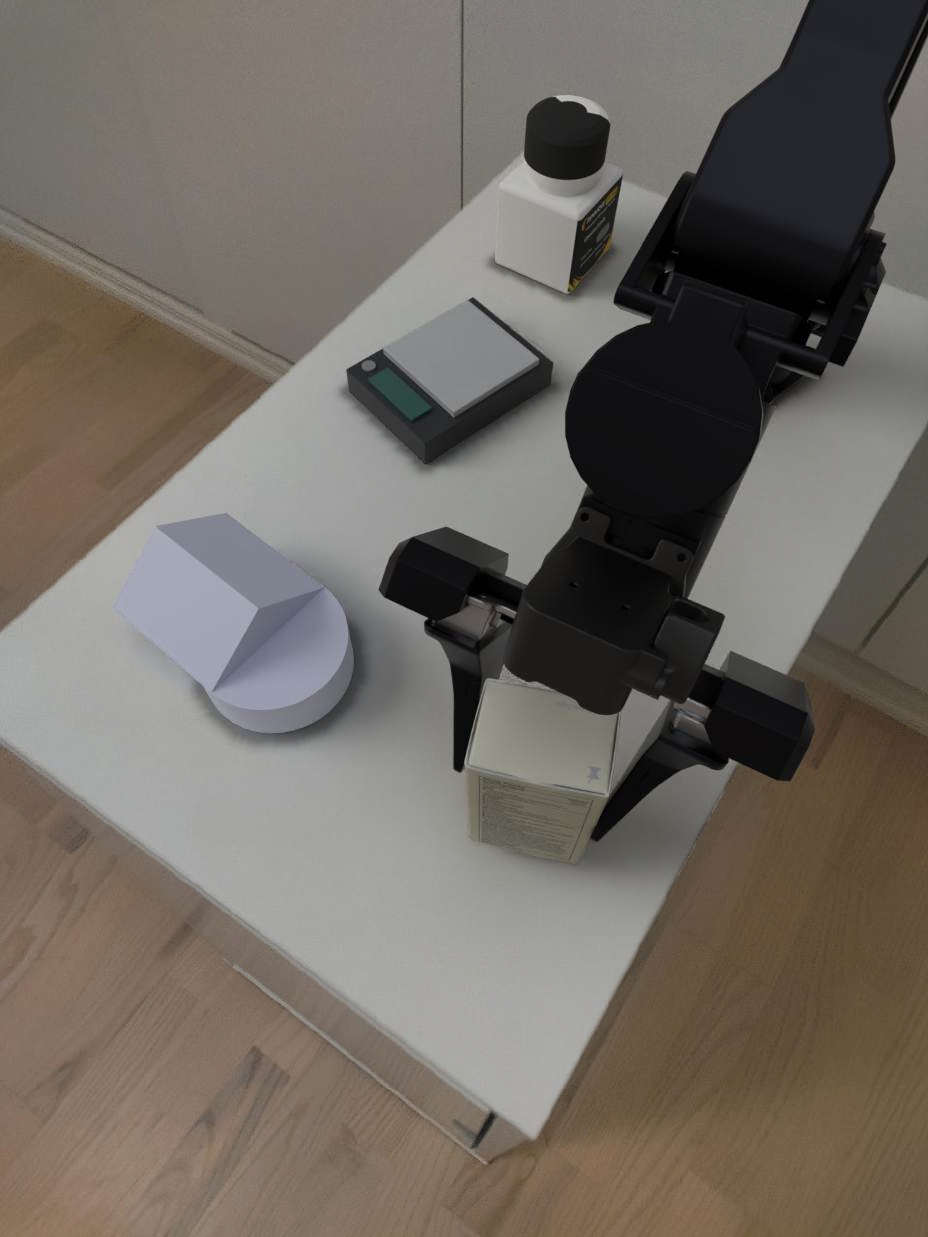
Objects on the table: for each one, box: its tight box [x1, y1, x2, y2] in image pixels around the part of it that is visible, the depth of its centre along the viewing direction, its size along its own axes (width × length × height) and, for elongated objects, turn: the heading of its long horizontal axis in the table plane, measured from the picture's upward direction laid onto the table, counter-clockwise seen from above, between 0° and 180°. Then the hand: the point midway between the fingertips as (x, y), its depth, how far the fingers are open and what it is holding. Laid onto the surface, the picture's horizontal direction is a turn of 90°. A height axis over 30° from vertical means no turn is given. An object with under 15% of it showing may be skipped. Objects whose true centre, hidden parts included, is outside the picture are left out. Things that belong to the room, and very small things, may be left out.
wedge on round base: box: [112, 512, 355, 734], centre depth 51 cm, size 9×7×13 cm
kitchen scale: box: [345, 296, 554, 465], centre depth 63 cm, size 12×9×3 cm
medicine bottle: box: [494, 94, 624, 295], centre depth 67 cm, size 7×7×12 cm
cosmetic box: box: [464, 678, 622, 865], centre depth 42 cm, size 6×4×12 cm
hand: (525, 802), depth 41 cm, fingers closed on cosmetic box, 7 cm apart
